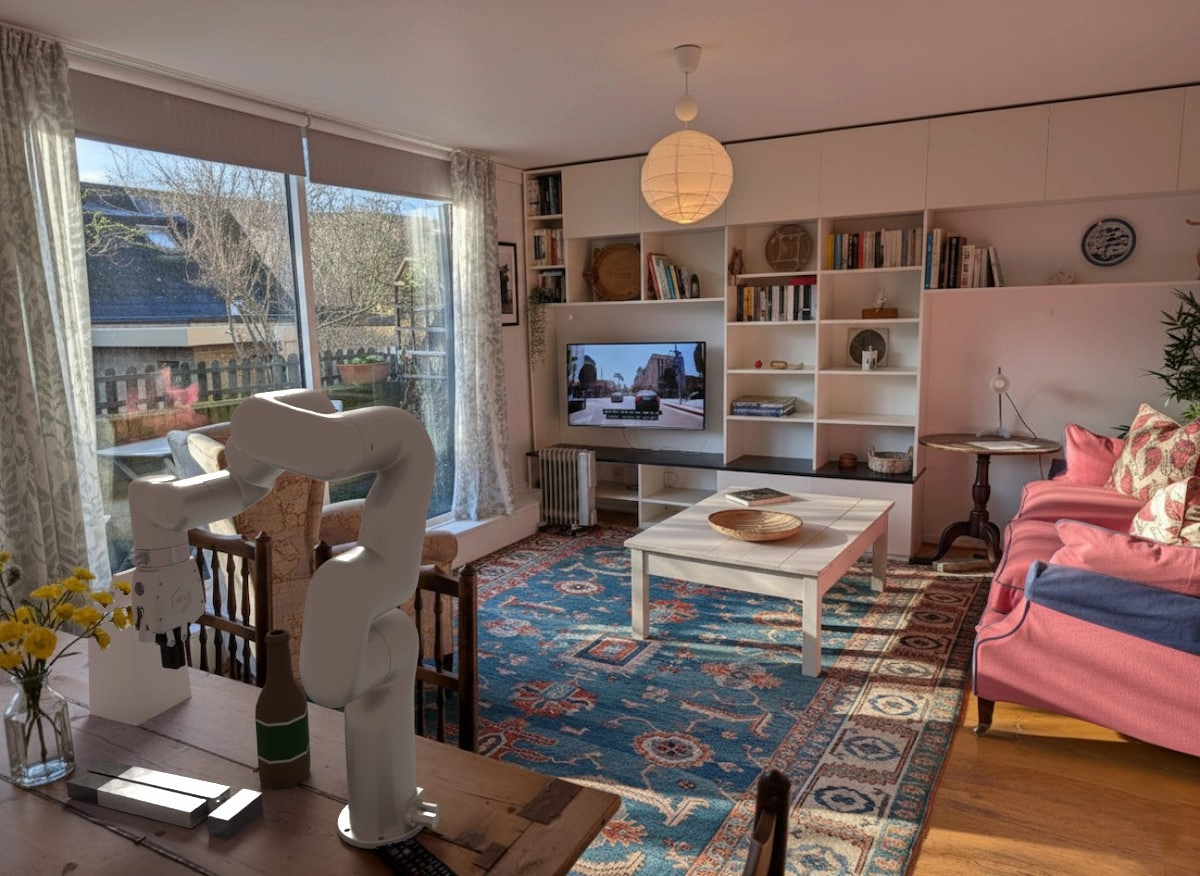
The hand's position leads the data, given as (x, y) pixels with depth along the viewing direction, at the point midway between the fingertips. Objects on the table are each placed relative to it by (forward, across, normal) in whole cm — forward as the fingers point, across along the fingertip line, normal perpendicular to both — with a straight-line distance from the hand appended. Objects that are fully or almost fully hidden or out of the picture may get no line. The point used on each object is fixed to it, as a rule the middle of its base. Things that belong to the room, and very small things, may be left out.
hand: (174, 666), depth 130 cm
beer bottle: (+18, +2, -18) cm, 25 cm away
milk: (+16, +13, +23) cm, 31 cm away
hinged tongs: (+17, -10, -6) cm, 20 cm away
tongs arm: (+17, -9, -4) cm, 19 cm away
